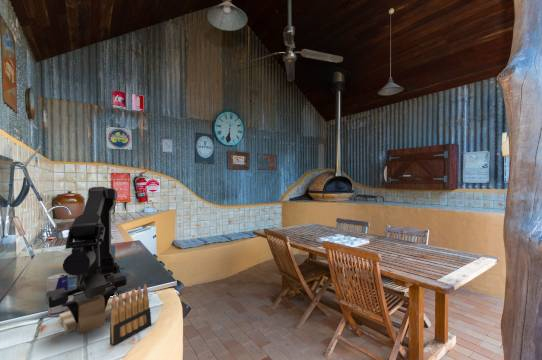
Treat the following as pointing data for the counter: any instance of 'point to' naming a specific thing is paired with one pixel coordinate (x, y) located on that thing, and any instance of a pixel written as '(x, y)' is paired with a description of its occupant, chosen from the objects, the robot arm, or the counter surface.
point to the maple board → (71, 325)
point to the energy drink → (54, 284)
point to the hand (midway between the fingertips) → (90, 317)
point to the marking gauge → (90, 313)
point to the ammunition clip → (129, 316)
